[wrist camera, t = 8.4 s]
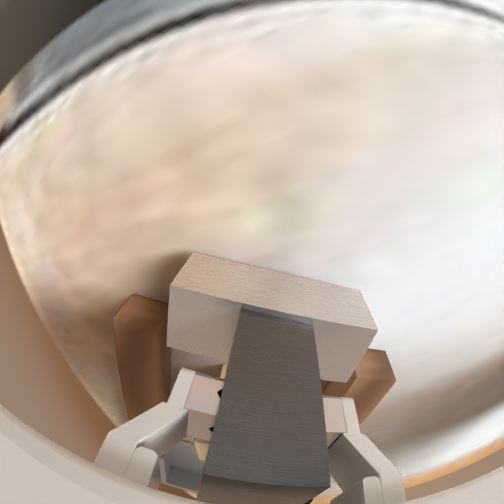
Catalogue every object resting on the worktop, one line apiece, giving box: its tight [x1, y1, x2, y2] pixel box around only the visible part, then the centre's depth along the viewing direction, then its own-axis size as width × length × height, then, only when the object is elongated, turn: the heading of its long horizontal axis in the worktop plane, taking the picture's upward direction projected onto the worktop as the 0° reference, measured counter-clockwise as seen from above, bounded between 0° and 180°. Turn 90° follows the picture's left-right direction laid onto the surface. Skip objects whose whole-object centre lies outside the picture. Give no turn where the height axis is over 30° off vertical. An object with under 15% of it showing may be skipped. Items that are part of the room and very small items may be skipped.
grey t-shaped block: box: [167, 252, 378, 504], centre depth 10 cm, size 9×4×10 cm, turn 78°
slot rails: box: [113, 294, 396, 457], centre depth 20 cm, size 18×19×3 cm
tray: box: [158, 440, 205, 493], centre depth 26 cm, size 14×12×3 cm
